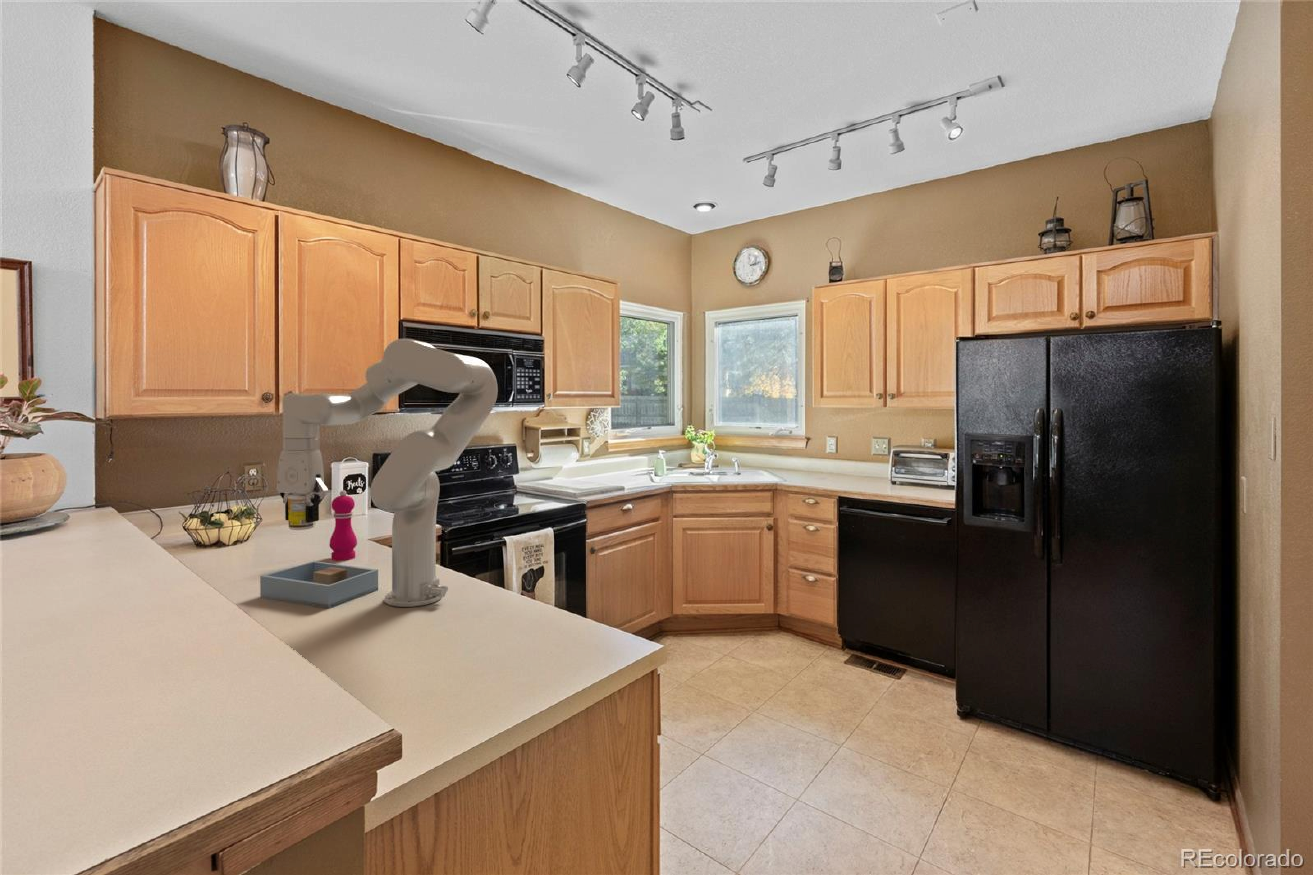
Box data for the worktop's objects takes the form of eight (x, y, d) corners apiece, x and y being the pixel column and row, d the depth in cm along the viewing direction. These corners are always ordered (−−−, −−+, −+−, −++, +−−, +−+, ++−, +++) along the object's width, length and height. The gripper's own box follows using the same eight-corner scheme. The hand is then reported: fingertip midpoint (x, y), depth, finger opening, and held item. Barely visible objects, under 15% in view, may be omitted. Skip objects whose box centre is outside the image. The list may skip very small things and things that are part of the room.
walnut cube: (329, 595, 140) (329, 574, 139) (313, 593, 141) (313, 572, 141) (347, 589, 144) (347, 569, 144) (331, 587, 146) (331, 567, 146)
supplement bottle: (297, 525, 147) (296, 484, 146) (320, 526, 147) (319, 484, 146) (283, 530, 142) (282, 487, 141) (306, 531, 142) (306, 488, 141)
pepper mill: (336, 562, 171) (336, 493, 170) (324, 558, 175) (324, 490, 174) (361, 557, 177) (361, 490, 176) (349, 553, 181) (349, 487, 180)
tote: (378, 589, 148) (378, 569, 147) (328, 608, 134) (328, 586, 133) (313, 580, 154) (313, 561, 154) (260, 597, 140) (260, 576, 140)
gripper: (259, 445, 142) (260, 520, 143) (316, 448, 137) (316, 526, 138) (288, 443, 149) (288, 515, 150) (342, 446, 144) (342, 520, 145)
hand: (302, 519), depth 144 cm, fingers closed on supplement bottle, 5 cm apart
